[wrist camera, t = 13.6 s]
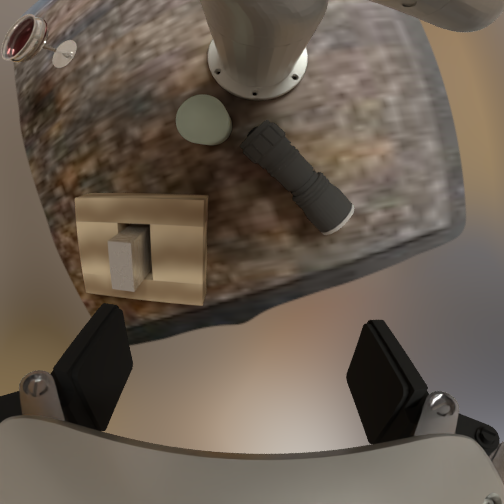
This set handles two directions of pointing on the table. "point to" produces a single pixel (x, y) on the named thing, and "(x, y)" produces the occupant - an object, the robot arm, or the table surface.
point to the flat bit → (130, 257)
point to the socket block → (162, 243)
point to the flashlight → (298, 177)
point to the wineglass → (34, 42)
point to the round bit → (203, 120)
